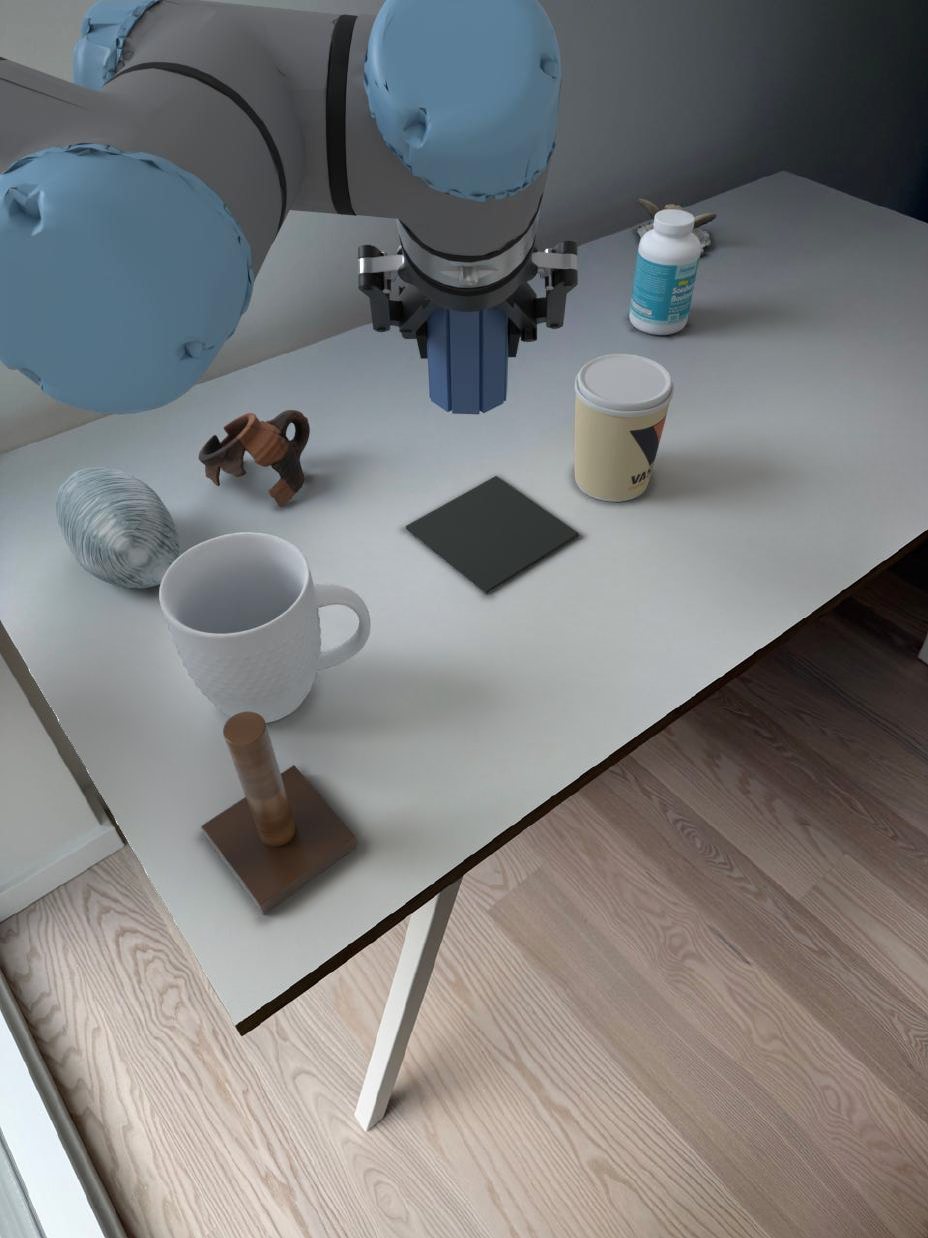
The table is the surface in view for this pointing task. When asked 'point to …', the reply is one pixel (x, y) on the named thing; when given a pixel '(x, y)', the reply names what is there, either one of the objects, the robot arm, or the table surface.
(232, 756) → the dowel stand
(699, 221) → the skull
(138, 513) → the streaked grey ellipsoid
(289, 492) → the brown looped piece
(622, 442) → the cream lidded canister
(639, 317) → the pill bottle
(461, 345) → the sleeve
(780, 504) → the table surface
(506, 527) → the mat
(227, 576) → the mug
